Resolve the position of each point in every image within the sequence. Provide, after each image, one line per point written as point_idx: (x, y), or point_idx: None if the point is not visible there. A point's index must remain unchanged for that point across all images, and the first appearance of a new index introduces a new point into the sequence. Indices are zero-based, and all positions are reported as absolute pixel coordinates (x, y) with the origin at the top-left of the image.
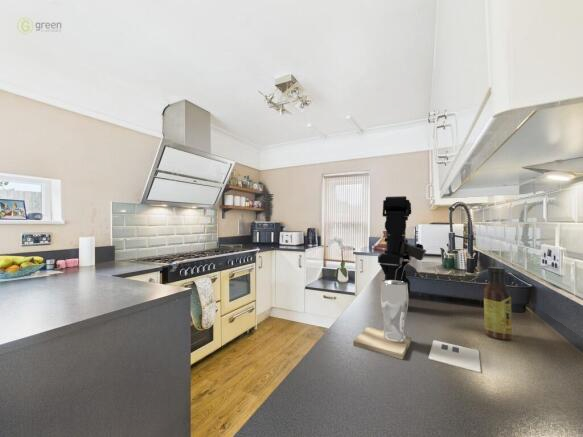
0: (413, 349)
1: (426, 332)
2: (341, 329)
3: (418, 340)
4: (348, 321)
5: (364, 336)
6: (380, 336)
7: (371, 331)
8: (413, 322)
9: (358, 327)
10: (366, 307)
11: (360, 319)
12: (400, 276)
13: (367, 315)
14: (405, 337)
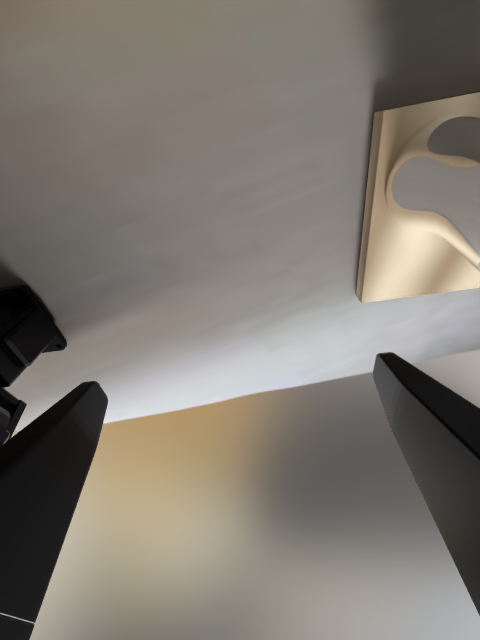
0: (471, 63)
1: (202, 85)
2: (391, 351)
3: (342, 83)
4: (310, 366)
5: (471, 271)
6: None
7: (406, 274)
8: (121, 196)
9: (343, 327)
10: (133, 386)
11: (265, 352)
12: (61, 433)
13: (208, 353)
14: (472, 113)
